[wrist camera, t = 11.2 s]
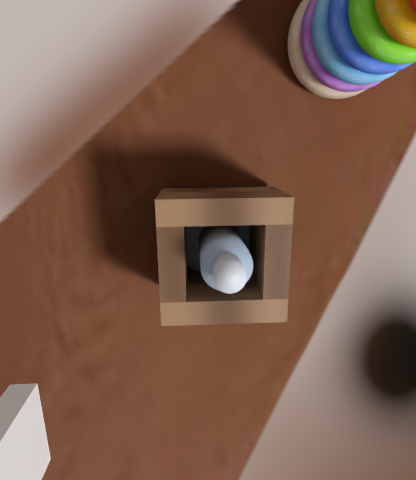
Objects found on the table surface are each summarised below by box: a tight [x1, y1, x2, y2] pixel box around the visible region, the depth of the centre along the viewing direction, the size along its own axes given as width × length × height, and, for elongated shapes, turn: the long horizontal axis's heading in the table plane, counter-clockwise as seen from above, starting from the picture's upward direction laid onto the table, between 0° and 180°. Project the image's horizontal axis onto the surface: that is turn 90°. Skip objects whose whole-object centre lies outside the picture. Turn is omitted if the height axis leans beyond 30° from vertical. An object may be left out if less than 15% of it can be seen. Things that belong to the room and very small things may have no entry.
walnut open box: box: [155, 187, 294, 326], centre depth 26 cm, size 9×9×6 cm
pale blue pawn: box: [186, 225, 253, 294], centre depth 25 cm, size 7×7×9 cm
